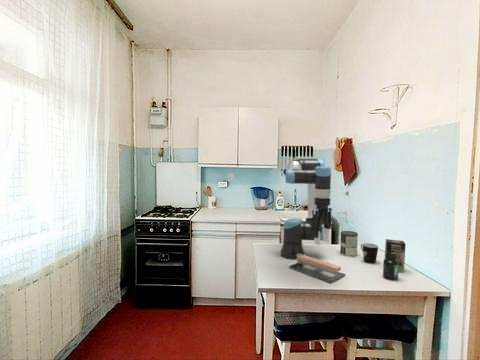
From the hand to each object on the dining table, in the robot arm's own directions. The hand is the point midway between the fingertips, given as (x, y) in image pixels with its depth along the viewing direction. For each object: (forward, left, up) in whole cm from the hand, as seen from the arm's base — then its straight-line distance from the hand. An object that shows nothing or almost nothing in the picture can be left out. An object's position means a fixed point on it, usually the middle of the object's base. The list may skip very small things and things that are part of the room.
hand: (321, 242), depth 135 cm
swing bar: (-7, +7, -15) cm, 18 cm away
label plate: (-7, +7, -19) cm, 21 cm away
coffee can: (-10, +48, -19) cm, 52 cm away
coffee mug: (+4, +46, -19) cm, 50 cm away
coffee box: (+19, +43, -19) cm, 50 cm away
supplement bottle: (+22, +30, -19) cm, 42 cm away
